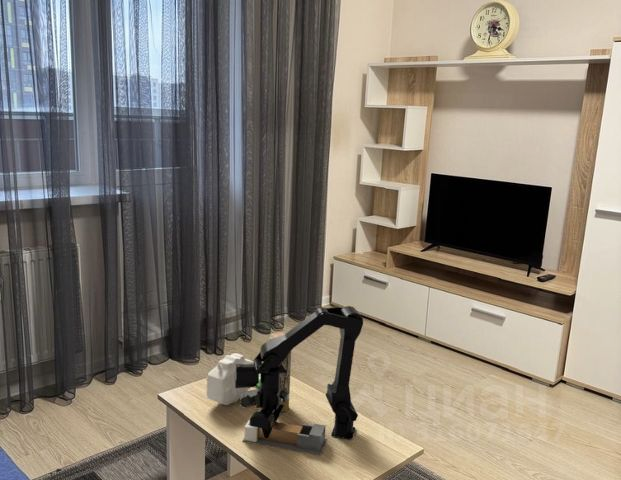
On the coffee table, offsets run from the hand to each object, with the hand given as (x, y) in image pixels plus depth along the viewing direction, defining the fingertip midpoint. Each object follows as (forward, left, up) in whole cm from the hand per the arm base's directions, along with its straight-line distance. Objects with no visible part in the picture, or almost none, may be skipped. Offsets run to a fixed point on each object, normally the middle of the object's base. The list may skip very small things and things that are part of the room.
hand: (268, 433), depth 174 cm
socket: (0, -4, -1) cm, 4 cm away
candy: (-30, -12, -2) cm, 32 cm away
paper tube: (-17, -2, -2) cm, 18 cm away
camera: (-17, -18, -2) cm, 25 cm away
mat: (0, +5, -1) cm, 5 cm away
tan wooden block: (0, +2, -1) cm, 3 cm away
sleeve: (0, +13, -1) cm, 13 cm away
